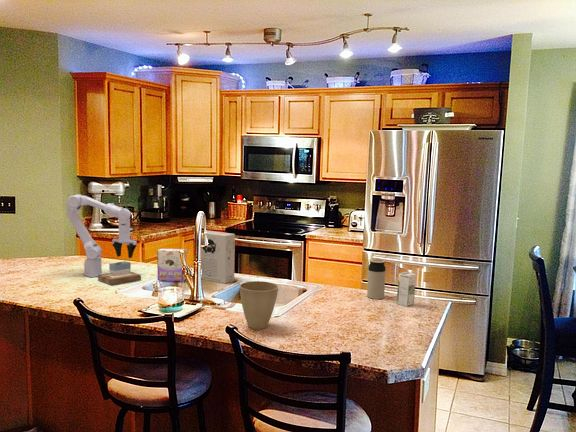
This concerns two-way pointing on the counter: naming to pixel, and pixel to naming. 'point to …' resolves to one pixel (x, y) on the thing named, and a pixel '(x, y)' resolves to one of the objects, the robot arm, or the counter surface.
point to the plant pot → (258, 302)
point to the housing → (119, 269)
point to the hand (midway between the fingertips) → (124, 257)
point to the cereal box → (218, 257)
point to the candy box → (170, 265)
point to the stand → (119, 278)
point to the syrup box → (406, 288)
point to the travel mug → (376, 279)
